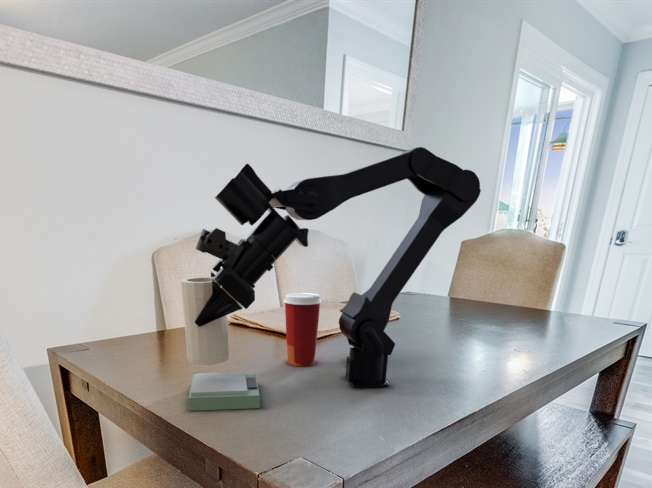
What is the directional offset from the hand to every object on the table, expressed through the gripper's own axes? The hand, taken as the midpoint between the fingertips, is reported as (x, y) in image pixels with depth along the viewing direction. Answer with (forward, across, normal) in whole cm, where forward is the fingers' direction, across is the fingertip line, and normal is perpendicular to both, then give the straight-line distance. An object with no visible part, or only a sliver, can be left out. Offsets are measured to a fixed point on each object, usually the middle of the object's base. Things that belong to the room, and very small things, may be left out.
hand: (197, 320), depth 75 cm
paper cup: (-5, -15, +24) cm, 29 cm away
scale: (+6, +3, +12) cm, 13 cm away
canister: (+4, 0, +6) cm, 7 cm away
